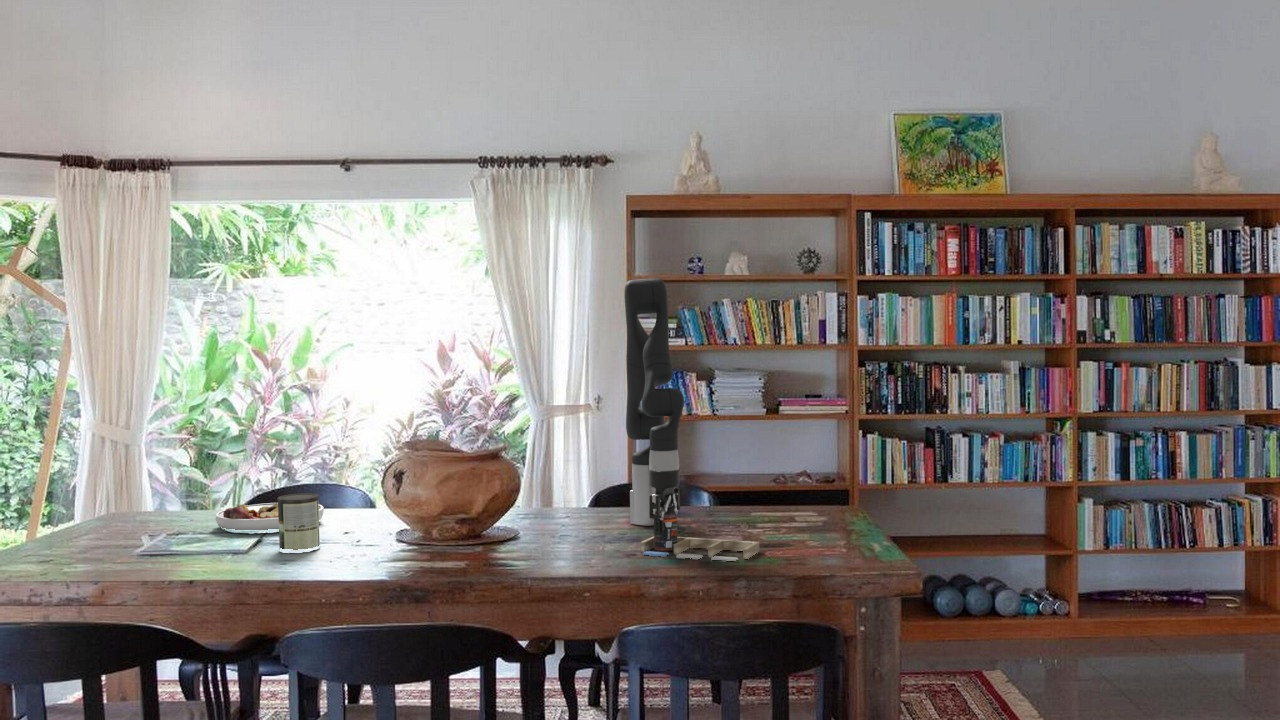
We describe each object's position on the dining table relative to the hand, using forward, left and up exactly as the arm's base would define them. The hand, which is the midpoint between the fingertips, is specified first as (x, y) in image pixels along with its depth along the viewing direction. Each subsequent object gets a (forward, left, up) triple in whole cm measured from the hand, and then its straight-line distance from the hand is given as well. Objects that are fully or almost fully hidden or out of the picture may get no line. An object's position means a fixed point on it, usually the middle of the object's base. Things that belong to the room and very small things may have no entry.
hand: (665, 531), depth 273 cm
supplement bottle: (0, 0, -5) cm, 5 cm away
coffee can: (-91, -30, -5) cm, 96 cm away
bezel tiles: (+9, -6, -5) cm, 12 cm away
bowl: (-124, -5, -5) cm, 124 cm away
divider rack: (+9, 0, -5) cm, 10 cm away
